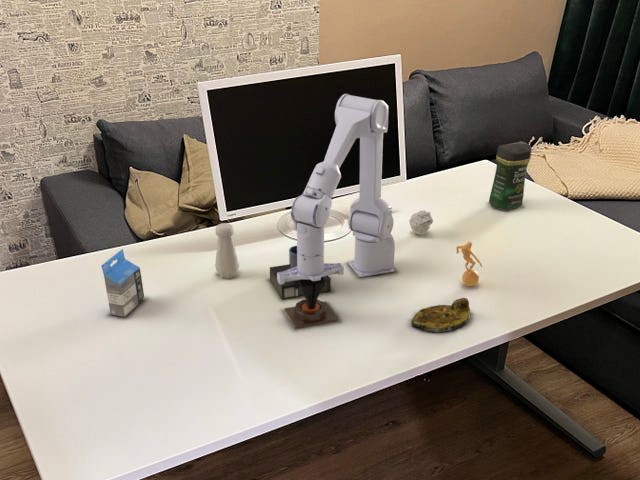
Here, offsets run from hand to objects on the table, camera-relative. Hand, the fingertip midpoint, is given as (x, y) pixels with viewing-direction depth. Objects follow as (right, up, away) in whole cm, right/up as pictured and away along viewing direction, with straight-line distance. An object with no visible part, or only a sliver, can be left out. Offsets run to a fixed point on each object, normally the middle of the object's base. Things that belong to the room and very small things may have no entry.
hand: (310, 306), depth 162 cm
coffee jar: (+56, +34, +55) cm, 86 cm away
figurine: (+37, +6, +14) cm, 40 cm away
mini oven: (-3, +6, +13) cm, 14 cm away
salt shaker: (-21, +9, +17) cm, 28 cm away
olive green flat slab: (+29, -3, +1) cm, 29 cm away
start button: (0, -1, +1) cm, 2 cm away
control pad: (0, -2, +1) cm, 2 cm away
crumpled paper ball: (+29, +22, +38) cm, 52 cm away
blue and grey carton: (-42, 0, +3) cm, 42 cm away
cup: (-3, +9, +11) cm, 14 cm away
